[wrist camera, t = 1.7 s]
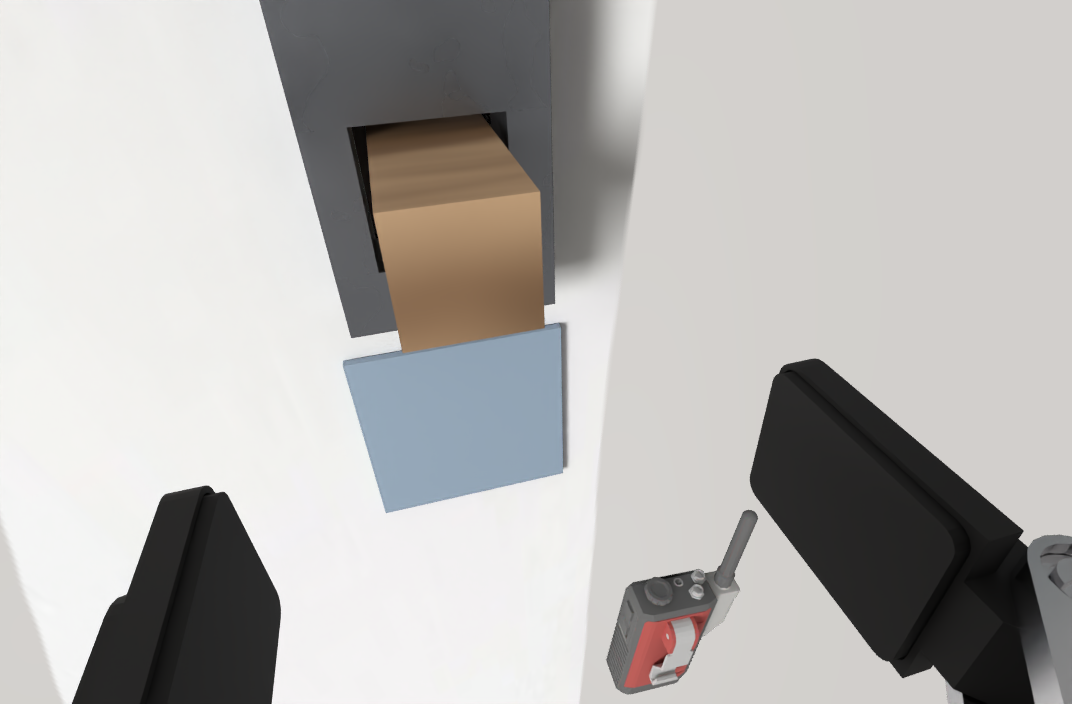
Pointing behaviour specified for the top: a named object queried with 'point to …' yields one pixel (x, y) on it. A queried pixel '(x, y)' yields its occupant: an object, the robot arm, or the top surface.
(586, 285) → the top surface
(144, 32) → the top surface
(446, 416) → the pad
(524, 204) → the plug
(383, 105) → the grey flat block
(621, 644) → the walkie-talkie
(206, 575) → the robot arm
